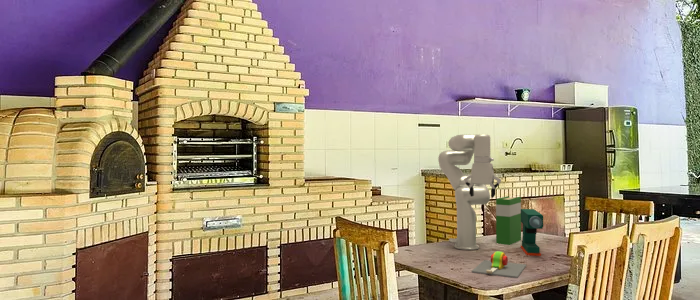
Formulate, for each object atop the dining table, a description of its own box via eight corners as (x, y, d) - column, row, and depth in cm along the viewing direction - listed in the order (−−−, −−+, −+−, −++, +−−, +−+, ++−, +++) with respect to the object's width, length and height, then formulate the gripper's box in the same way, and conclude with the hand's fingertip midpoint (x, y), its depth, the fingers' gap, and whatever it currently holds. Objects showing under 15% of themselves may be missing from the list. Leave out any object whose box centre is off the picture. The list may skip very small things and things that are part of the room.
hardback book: (507, 238, 267) (507, 196, 267) (521, 240, 263) (520, 197, 263) (496, 243, 253) (496, 198, 253) (509, 245, 249) (509, 199, 249)
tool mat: (471, 272, 194) (471, 270, 194) (484, 261, 213) (484, 259, 213) (517, 278, 185) (517, 276, 185) (526, 265, 204) (526, 264, 204)
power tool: (548, 262, 210) (548, 217, 210) (531, 262, 211) (531, 217, 211) (535, 248, 241) (534, 209, 241) (520, 247, 243) (520, 208, 243)
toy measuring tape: (511, 265, 203) (511, 250, 203) (496, 275, 187) (496, 258, 187) (496, 263, 207) (496, 248, 207) (480, 272, 191) (480, 256, 191)
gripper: (502, 160, 221) (502, 196, 221) (466, 160, 230) (466, 195, 230) (499, 160, 215) (499, 198, 215) (461, 160, 223) (461, 196, 223)
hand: (482, 196), depth 222 cm, fingers open, 9 cm apart
